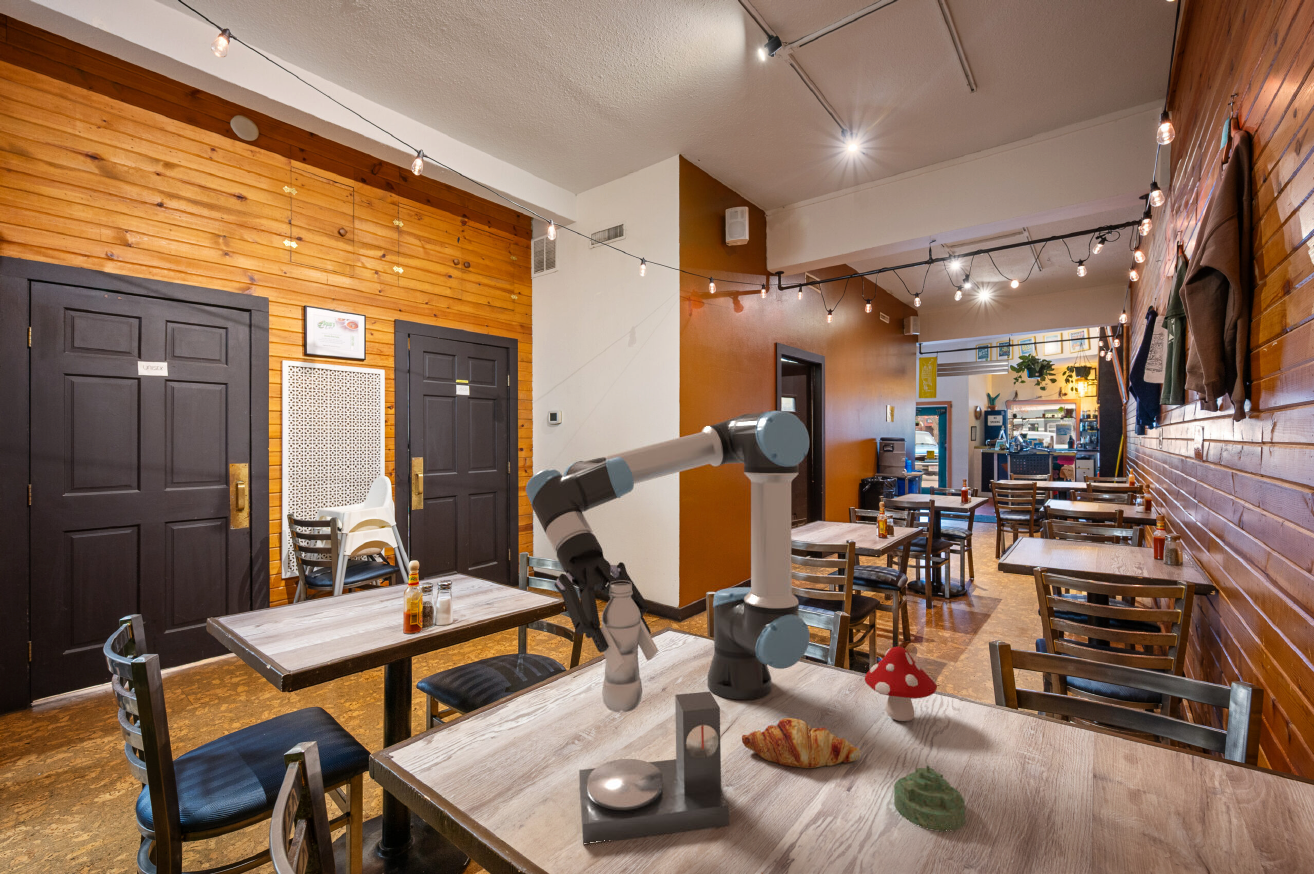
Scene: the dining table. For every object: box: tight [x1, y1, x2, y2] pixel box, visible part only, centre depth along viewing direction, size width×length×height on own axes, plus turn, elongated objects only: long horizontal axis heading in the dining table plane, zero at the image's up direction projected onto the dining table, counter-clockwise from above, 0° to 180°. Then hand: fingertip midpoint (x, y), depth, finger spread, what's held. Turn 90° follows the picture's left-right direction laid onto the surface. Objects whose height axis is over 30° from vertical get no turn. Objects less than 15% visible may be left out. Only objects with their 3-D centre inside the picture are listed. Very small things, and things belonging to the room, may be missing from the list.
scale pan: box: [587, 758, 663, 810], centre depth 91 cm, size 12×12×1 cm
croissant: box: [741, 717, 861, 769], centre depth 105 cm, size 21×10×8 cm, turn 80°
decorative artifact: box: [893, 764, 966, 832], centre depth 90 cm, size 10×7×10 cm
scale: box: [578, 691, 730, 845], centre depth 92 cm, size 22×14×16 cm, turn 100°
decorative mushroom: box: [864, 646, 938, 722], centre depth 119 cm, size 14×14×15 cm
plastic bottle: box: [600, 580, 643, 713], centre depth 91 cm, size 6×7×20 cm
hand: (636, 661), depth 89 cm, fingers closed on plastic bottle, 6 cm apart
